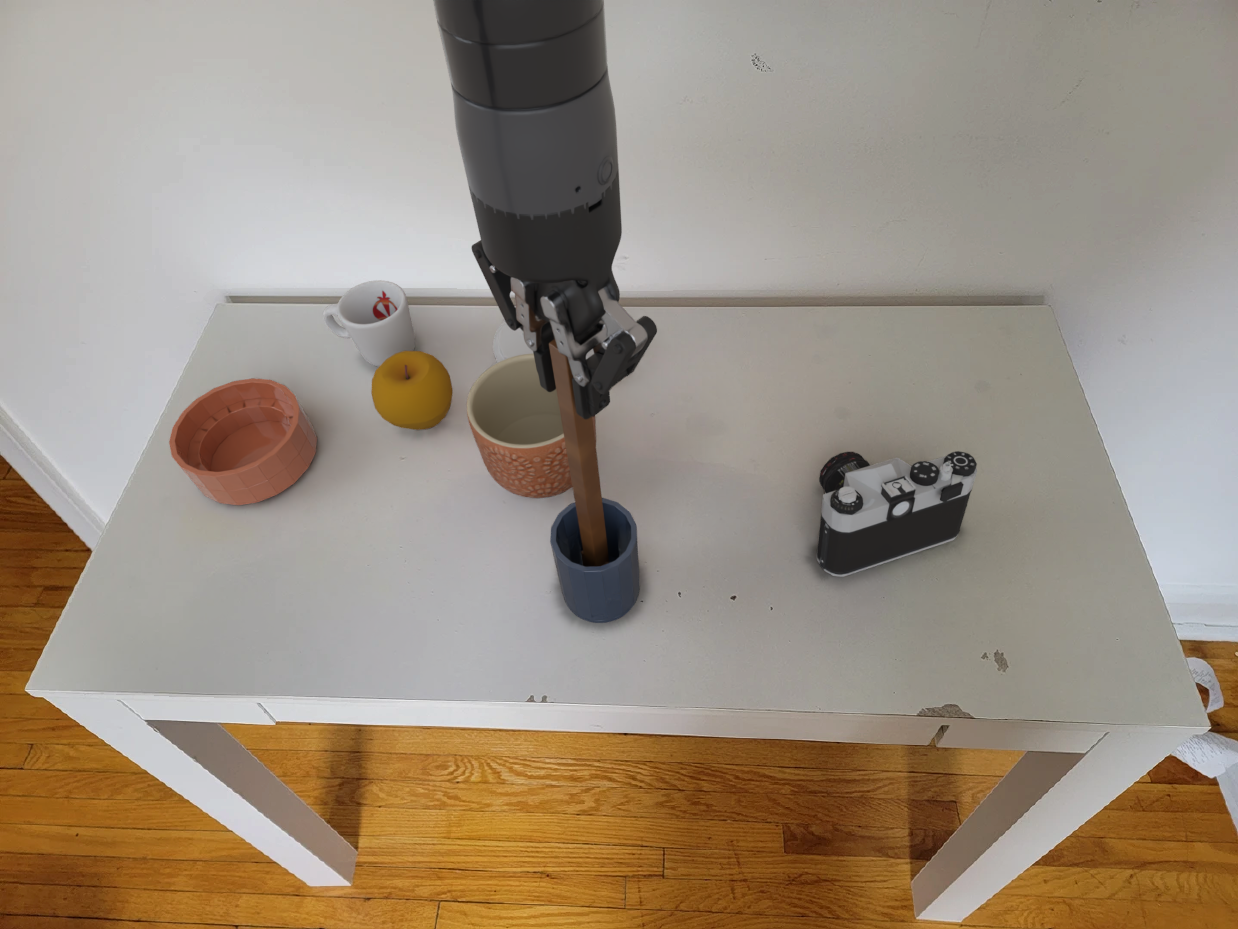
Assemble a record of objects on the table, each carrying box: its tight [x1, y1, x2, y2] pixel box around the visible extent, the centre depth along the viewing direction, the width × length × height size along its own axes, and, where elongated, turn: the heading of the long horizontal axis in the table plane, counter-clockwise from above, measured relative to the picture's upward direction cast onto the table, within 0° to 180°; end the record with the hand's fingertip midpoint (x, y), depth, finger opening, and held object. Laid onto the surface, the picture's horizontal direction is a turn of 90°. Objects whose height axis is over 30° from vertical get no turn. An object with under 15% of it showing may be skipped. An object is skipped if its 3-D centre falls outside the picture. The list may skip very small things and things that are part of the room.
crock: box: [549, 497, 641, 624], centre depth 70 cm, size 7×7×10 cm
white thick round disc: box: [492, 320, 594, 364], centre depth 90 cm, size 13×13×5 cm
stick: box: [549, 339, 609, 567], centre depth 60 cm, size 2×3×32 cm, turn 45°
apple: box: [370, 350, 454, 431], centre depth 84 cm, size 9×8×9 cm
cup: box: [322, 279, 416, 367], centre depth 91 cm, size 11×8×8 cm
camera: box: [816, 450, 978, 578], centre depth 73 cm, size 15×11×10 cm
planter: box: [466, 354, 597, 499], centre depth 78 cm, size 12×12×11 cm
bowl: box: [168, 377, 318, 506], centre depth 83 cm, size 13×13×6 cm
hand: (574, 395), depth 51 cm, fingers open, 3 cm apart
